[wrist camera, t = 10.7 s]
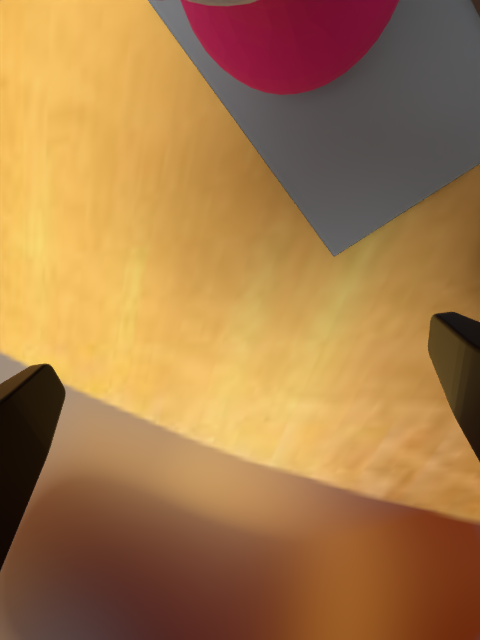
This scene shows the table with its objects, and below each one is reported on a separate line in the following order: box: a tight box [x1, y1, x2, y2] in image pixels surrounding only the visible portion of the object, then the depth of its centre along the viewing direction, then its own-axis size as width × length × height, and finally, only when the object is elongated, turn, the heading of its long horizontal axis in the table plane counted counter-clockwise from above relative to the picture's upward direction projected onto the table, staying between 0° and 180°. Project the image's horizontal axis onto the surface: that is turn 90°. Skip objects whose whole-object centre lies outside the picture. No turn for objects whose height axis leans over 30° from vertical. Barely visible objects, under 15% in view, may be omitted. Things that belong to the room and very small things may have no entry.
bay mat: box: [148, 0, 480, 256], centre depth 16 cm, size 15×11×1 cm
